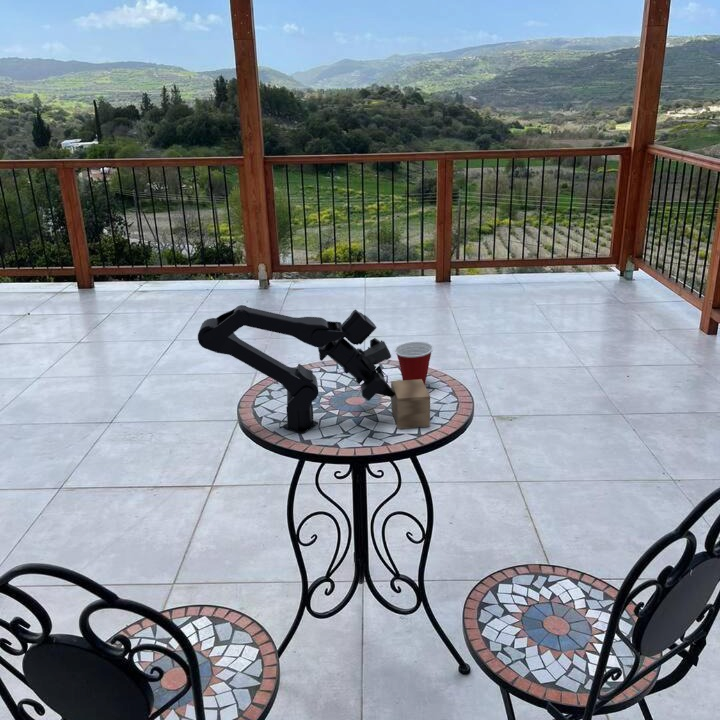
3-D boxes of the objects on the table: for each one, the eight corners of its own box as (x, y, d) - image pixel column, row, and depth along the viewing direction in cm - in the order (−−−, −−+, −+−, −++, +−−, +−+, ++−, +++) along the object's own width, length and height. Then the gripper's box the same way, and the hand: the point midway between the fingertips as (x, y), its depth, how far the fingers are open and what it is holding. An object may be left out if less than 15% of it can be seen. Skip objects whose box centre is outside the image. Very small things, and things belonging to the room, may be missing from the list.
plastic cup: (388, 383, 195) (387, 344, 191) (422, 377, 198) (422, 338, 194) (404, 397, 185) (404, 356, 181) (439, 390, 189) (440, 350, 185)
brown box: (397, 428, 168) (397, 398, 165) (391, 409, 178) (391, 381, 175) (429, 426, 168) (430, 396, 165) (421, 407, 178) (421, 379, 176)
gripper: (375, 346, 155) (422, 387, 160) (366, 321, 172) (409, 359, 177) (342, 380, 157) (390, 420, 162) (336, 352, 175) (380, 389, 180)
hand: (393, 395), depth 170 cm, fingers closed, pressing on brown box
